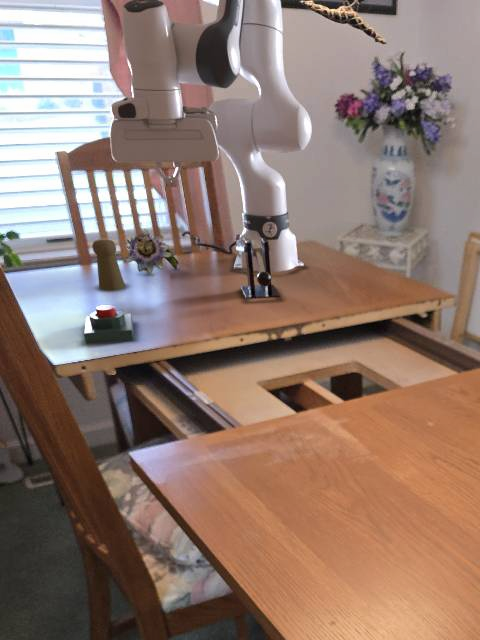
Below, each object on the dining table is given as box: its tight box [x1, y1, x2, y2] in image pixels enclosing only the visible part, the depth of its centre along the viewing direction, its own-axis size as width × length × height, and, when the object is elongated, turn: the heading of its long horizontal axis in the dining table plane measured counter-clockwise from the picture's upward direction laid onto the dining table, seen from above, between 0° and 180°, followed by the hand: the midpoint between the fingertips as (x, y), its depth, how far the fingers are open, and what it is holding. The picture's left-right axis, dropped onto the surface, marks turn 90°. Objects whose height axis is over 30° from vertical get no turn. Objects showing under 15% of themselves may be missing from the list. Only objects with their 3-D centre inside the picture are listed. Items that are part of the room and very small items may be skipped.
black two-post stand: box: [240, 238, 281, 300], centre depth 167 cm, size 10×8×13 cm
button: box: [95, 304, 116, 318], centre depth 144 cm, size 4×4×2 cm
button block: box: [83, 309, 135, 345], centre depth 145 cm, size 11×9×4 cm
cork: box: [92, 238, 126, 292], centre depth 169 cm, size 6×6×11 cm
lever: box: [251, 240, 272, 286], centre depth 162 cm, size 13×3×3 cm, turn 19°
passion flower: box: [123, 228, 179, 276], centre depth 184 cm, size 11×11×12 cm
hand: (171, 186), depth 142 cm, fingers closed
